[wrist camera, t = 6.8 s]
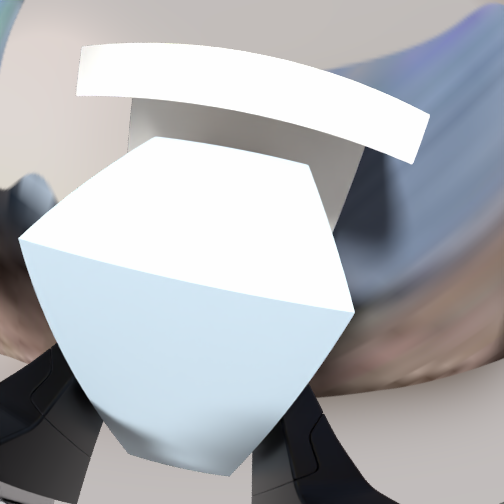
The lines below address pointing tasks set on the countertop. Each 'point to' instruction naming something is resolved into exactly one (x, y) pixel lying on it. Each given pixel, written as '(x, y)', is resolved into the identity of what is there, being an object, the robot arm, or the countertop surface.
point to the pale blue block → (191, 296)
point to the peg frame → (254, 108)
